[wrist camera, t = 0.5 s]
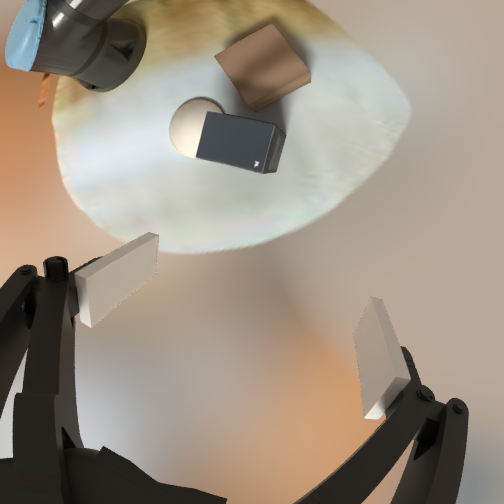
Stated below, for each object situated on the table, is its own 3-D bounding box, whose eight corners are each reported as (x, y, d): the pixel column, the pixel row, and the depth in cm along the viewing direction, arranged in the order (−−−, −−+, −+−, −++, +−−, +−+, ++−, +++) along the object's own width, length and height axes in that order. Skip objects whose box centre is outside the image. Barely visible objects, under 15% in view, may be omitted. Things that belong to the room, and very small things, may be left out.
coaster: (162, 122, 38) (160, 122, 37) (208, 89, 35) (207, 88, 34) (187, 168, 40) (185, 168, 39) (237, 137, 37) (236, 136, 36)
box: (287, 134, 35) (276, 123, 25) (276, 173, 37) (262, 176, 27) (233, 122, 36) (205, 109, 26) (224, 159, 38) (193, 159, 28)
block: (225, 67, 34) (214, 56, 29) (277, 38, 31) (271, 23, 26) (255, 112, 35) (247, 105, 30) (310, 82, 32) (309, 71, 27)
